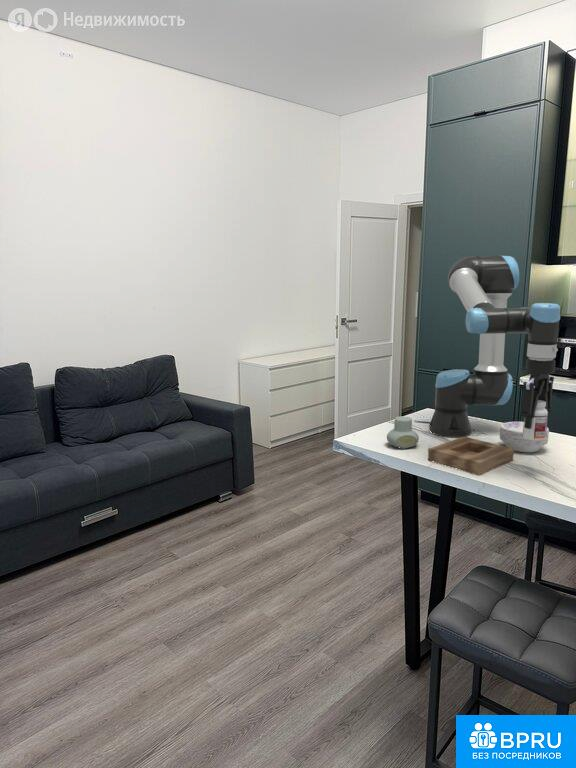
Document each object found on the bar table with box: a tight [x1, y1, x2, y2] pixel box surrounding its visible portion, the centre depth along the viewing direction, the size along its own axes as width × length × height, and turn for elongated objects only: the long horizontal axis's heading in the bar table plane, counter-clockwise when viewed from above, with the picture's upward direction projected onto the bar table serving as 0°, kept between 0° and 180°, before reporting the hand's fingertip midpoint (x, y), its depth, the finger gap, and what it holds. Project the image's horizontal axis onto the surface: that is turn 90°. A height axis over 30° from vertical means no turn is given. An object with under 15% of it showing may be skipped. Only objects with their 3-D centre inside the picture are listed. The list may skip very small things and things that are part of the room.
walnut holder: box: [427, 436, 515, 476], centre depth 175 cm, size 18×20×4 cm
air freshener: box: [386, 415, 420, 449], centre depth 190 cm, size 11×8×10 cm
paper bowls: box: [499, 421, 550, 454], centre depth 186 cm, size 15×15×8 cm
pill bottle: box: [523, 400, 549, 440], centre depth 159 cm, size 6×6×11 cm
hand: (534, 436), depth 160 cm, fingers closed on pill bottle, 6 cm apart
